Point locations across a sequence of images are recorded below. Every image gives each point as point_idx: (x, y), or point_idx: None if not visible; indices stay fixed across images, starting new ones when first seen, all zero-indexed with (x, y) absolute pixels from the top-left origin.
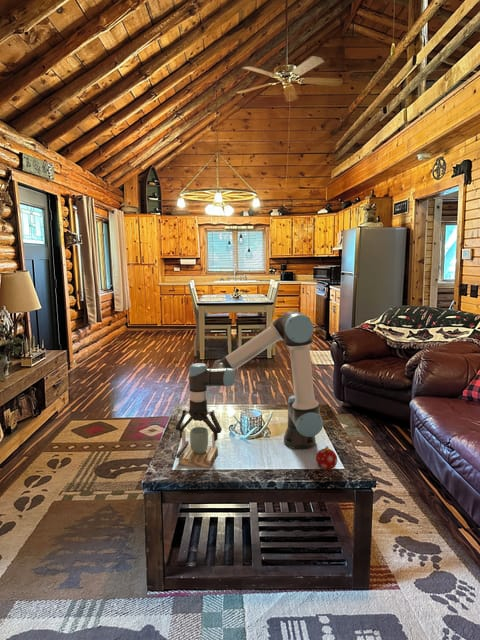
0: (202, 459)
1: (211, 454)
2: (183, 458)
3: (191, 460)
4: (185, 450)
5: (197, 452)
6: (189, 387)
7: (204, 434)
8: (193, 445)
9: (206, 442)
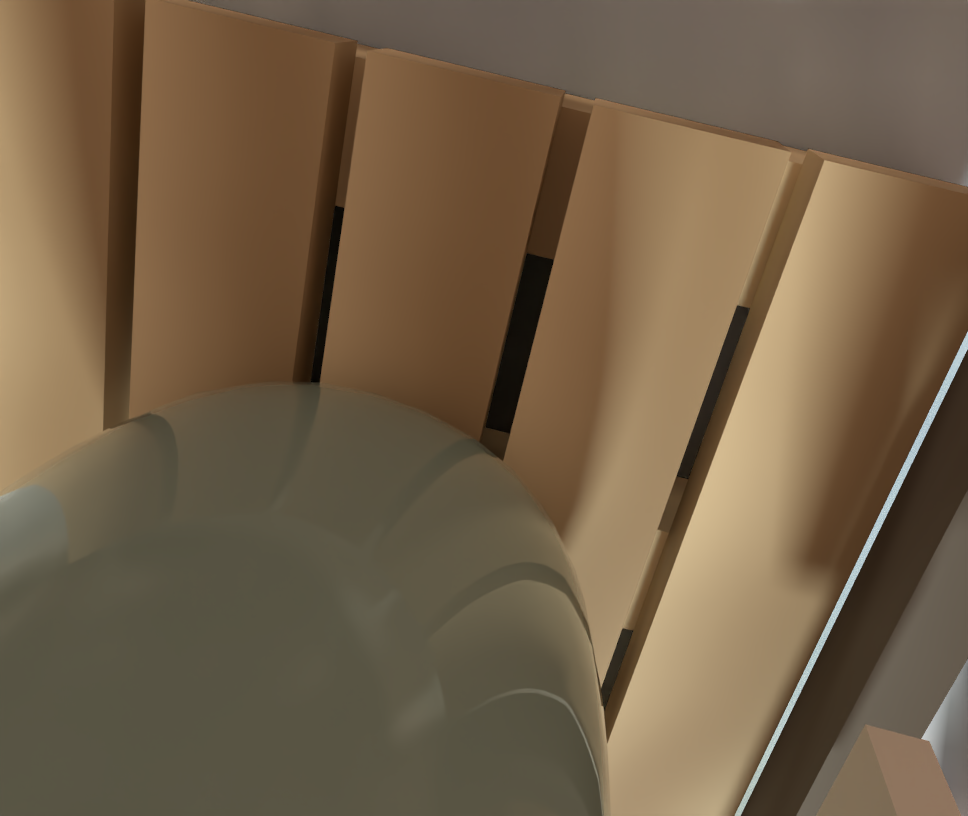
0: (185, 58)
1: (1, 386)
2: (852, 169)
3: (569, 157)
4: (760, 679)
5: (358, 392)
6: None
7: None
8: (447, 545)
9: None
